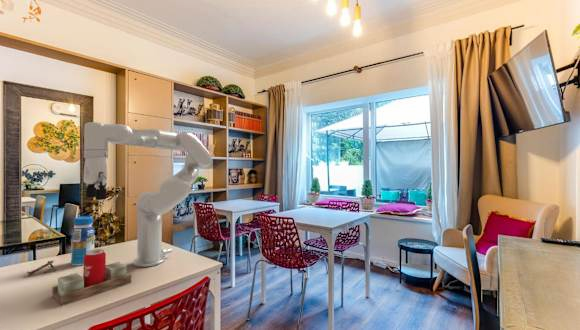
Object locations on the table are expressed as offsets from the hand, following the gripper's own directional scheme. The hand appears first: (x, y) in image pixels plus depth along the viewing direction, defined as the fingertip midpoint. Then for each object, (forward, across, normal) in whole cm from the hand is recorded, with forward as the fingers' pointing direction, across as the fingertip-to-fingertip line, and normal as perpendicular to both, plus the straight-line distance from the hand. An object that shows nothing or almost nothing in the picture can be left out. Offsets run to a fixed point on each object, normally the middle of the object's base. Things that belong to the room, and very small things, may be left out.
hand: (95, 198), depth 102 cm
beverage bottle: (+31, -20, +2) cm, 37 cm away
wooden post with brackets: (+31, -19, -12) cm, 38 cm away
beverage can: (+30, +12, -4) cm, 32 cm away
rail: (+30, +12, -4) cm, 33 cm away
